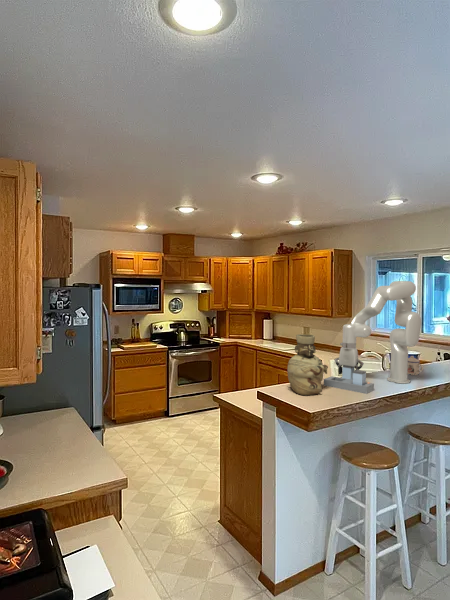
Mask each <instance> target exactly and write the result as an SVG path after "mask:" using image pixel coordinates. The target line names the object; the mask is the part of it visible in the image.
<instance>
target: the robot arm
mask: <svg viewBox="0 0 450 600" xmlns="http://www.w3.org/2000/svg"><path fill="white" fill-rule="evenodd" d="M416 290H417V289H416V284H415V283H414V282H413V281H409V280H396V281H392V282H391V283H390V284H389V285H380V286H378V287H377V288H376V289H375V291H374V293H373V294H372V296H371V298H370V300H369V301H368V303H367V305H366V306H365V307H363V308H362V309H361V310H360V311H359V312H358V313H357V314H355V316H354V317H353V319H352V320H351V323H348V324H347V323H346V324H344V325H343V326H342V342H340V350H339V355H338V357H336V358H334V363H335V365H336V366H337V368H338V370H337V371H338V375H341V374H342V371H343V365H345V366H352V367H355V370H360V369H361V368H362V367H363V366H364V362H363V361H362V360H360V359H359V352H358V348H357V337H358V338H368V337H370V336H371V334H372V328H371V327H370V326H369V325H367V324H365V323H366V322H367V321H368V320H369V319H371V318H374V317H376V316H378V315H379V314H381V312H382V310H384V307H385V305H386V304H387V302H388V301H396V306H395V307H396V308H395V313H394V323H395V324H396V325H397V326H399V327H402V328H394V329H392V330H391V331H390V333H389V343H390V365H389V366H390V370H389V371H390V372H389V376H388V377H386V378H387V379H386V381H388V382H391V383H394V384H410V382H411V380H410V379H409V378H408V374H407V373H408V358H409V349H408V348H410V347H411V348H413V347H415V346H417V345H418V343H419V341H420V335H421V329H422V318H421V315H420V314H419V313H418V312H416V311H412V310H413V301H412V298H411V296H412V295H414V294H415V292H416ZM341 346H342V347H341Z"/></svg>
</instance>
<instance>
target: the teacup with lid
mask: <svg viewBox="0 0 450 600" xmlns="http://www.w3.org/2000/svg"><path fill="white" fill-rule="evenodd" d="M420 367H421V369H420ZM423 370H424V366H423V364H421V363H420V359H417V358H416V357H414V355H410V356H409V357H408V373H407V375H408V374H411V375H410V376H418V375H417V374H420V373H421V372H422V371H423Z"/></svg>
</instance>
